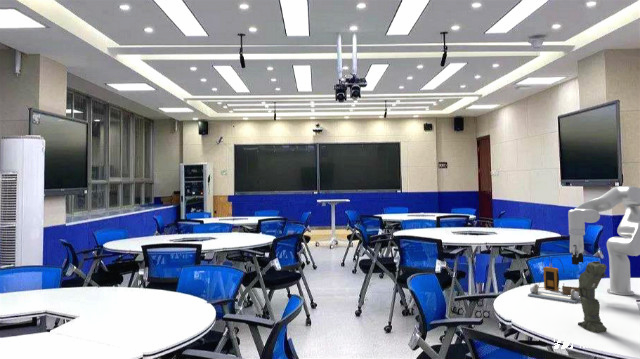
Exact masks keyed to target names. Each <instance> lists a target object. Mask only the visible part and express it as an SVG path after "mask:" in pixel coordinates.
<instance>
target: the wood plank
mask: <svg viewBox="0 0 640 359" xmlns="http://www.w3.org/2000/svg"><path fill="white" fill-rule="evenodd" d="M572 289H574V290H575V291H576V292H579V291H578V287H576V286H575V287H574V286H565V285H564V286H563V285H562V287H561V290H562V295H571V290H572ZM594 291H595V292H596V289H594ZM579 296H580V295H579ZM594 297H595V298H596V296H594Z"/></svg>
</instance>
